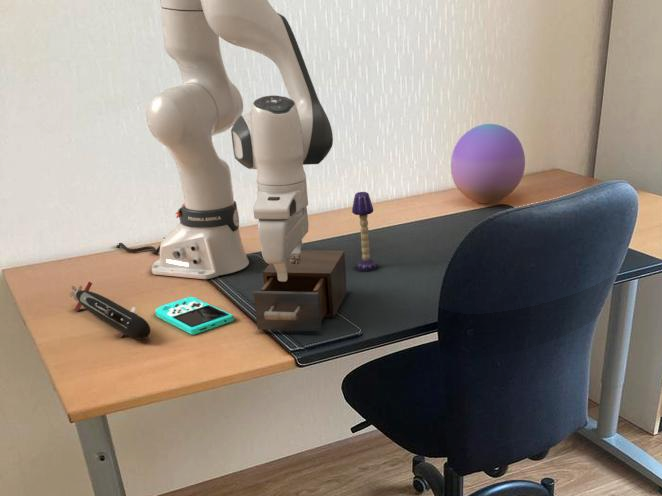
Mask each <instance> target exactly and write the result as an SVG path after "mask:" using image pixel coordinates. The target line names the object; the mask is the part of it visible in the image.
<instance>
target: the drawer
mask: <svg viewBox="0 0 662 496" xmlns="http://www.w3.org/2000/svg"><path fill="white" fill-rule="evenodd" d="M252 294H253V295H252V296H253V302H254V303H253V304H254V311H255V320H256V327H257V330H262V331H264V330H265V331H267V330H268V331H294V332H295V331H296V332H298V331H300V332H321V331H322V330H323V325H322V324H323V323H322V322H323V320H324V319H325V318H324V316H325V314H326V312H327V311H328V309H329V299H328V285H327V277H290V276H289V278H288V279H287V281H279V280H278V276H271V277H270V278H269V279H268V281H267V282H266V283H265V285H264V284H263V286H262V287H261V288H260V290H254V291H253V293H252Z"/></svg>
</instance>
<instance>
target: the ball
mask: <svg viewBox="0 0 662 496" xmlns="http://www.w3.org/2000/svg"><path fill="white" fill-rule="evenodd" d="M450 159H451V160H450V173H451V178H452V181H453V183H454V185H455V187H456V189H457V190H458V191H459V192H460V193H461V194H462V195H463V196H465V197H466V198H467V199H469V200H471V201H473V202H476V203H481V204H490V203H491V204H492V203H496V202H499V201H502V200H504V199H505V198H507V197H509V195H511V194H512V193H513V192H514V190H516V189H517V187H518V186H519V184H520V183H521V181H522V179H523V176H524V173H525V168H526V156H525V151H524V148H523V145H522V142H521V141H520V139H519V138H518V136H517V135H516V134H515V133H514V132H513V131H512V130H510V129H508V127H505V126H503V125H500V124H493V123H484V124H480V125H477V126H474V127H472V128H471V129H469V130H468V131H466V132H465V133H464V134H463V135H462V136H460V138H459V139H458V141H457V142H456V143H455V146H454V148H453V151H452V153H451V158H450Z"/></svg>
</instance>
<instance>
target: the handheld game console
mask: <svg viewBox="0 0 662 496" xmlns="http://www.w3.org/2000/svg"><path fill="white" fill-rule="evenodd" d="M154 311H155V316H156V317H157V318H158V319H160V320H162V321H164V322H166V323H168V324H170V325H172V326H174V327H176V328H178V329H180V330H182V331H184V332H185V333H187V334H190V335H191V336H194V335H197V334H201V333H203V332H206V331H209V330H211V329H215V328H218V327H221V326H223V325H226V324H229V323H232V322H234V321H235V318H234V315H233V314H232V313H230V312H227V311H225V310H223V309H220V308H219V307H216V306H215V305H212V304H209V303H207V302H205V301H204V300H201V299H199V298H197V297H194V296H187V297H184V298H181V299H177V300H175V301H172V302H169V303H166V304H162V305H161V306H159V307H157V308H156V309H155V310H154Z"/></svg>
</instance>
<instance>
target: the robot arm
mask: <svg viewBox="0 0 662 496" xmlns="http://www.w3.org/2000/svg"><path fill="white" fill-rule="evenodd" d="M160 14H161V26H162V37H163V46H164V49H165V52H166V53H167V55H168V56H169V57H170V58H171V59H172V60H174V61H175V62H176V65H177V66H178V69H179V72H180V75H181V79H182V80H181V81H182V85H178V86H174V87H169V88H167V89H164V90H163V91H162V92H160V93H159V94H157V95H156V96H154V97H153V98H152V99H150V101H149V103H148V104H147V106H146V113H145V118H146V124H147V127H148V129H149V131H150V133H151V135H152V136H153V137H154V139H155V140H157V142H159V143H161V144H162V145H163V146H164V147H165V148H166V149H167V151H168V152H169V153H170V155H171V157H172V159H173V161H174V164H175V166H176V168H177V172H178V175H179V180H180V185H181V191H182V197H183V203H182V205H181V207H179V208H178V210H177V211H176V212H175V215H176V219H178V218H179V223H178V224H177V225H176V226H175V227H174V228H173V229H172V230H171V231H170V232H169V233H168V234H167V235H166V236H165V237H163V238H162V241H161V243H160V244H159V246H158V247H155V246H150V245H149V246H148V245H147V246H141V247H137V248H135V247H134V248H130V247H127V246H126V245H125V244H124V243H123V242H118V244H119V245H118V244H116V246H115V248H116V249H120V248H122V249H123V250H125V251H126V252H129V253H138V252H142V251H148V250H149V251H152V254H153V255H157V254H159V258H158V259H157V260H156V261H155V262H153V264H152V266H151V273H152V274H153V275H156V276H168V277H176V278H177V277H178V278H187V279H195V280H196V279H197V280H199V279H200V280H209V279H213V278H217V277H219V276H224V275H228V274H233V273H236V272H239V271H241V270H244V269H245V268H247V267H248V266H249V265H250V261H249V258H248V256H247V254H246V250H245V248H244V245H243V241H242V237H241V233H240V229H239V228H240V216H239V209H238V205H237V202H236V200H235V196H234V188H233V181H232V173H231V169H230V166H229V164H228V163H227V161H225V160H224V159H222V158H220V156H219V155H218V153H217V151H216V149H215V146H214V143H213V136H216V135H219V134H221V133H225V132H227V131H229V130H230V129H231V130H230V134H231V142H232V150H233V156H234V159H235V160H236V161H237V162H238V163H239V164H241V165H242V166H244V167H245V168H247V169H248V170H256V171H257V173H256V189H257V191H256V198H255V202H254V205H253V209H252V210H253V211H252V212H253V217H254V219H255V220H258V221H257V231H258V238H259V245H260V250H261V256H262V258H263V260H264V262H265V263H266V264H270V263H271V264H274V267H275V269H276V271H277V276H278V280H279V281H287V279H288V278H289V271H288V270H287V266H286V263H287V260H286V259H287V258H288V256H289V255H290V254H291V255H290V259H291V263H292V264H299V263H300V262H301V250H302V248H303V239H304V237H306V235H307V234H308V233H309V227H310V225H309V224H310V223H309V216H308V215H309V214H308V208H307V207H308V206H309V198H308V197H309V196H308V184H307V175H306V172H305V169H304V166H306V165H307V166H308V165H320V163H321V162H322V161H324V160H325V158H326V157H327V156H328V154H329V153H330V152H331V149H332V148H333V146H334V145H333V144H334V133H333V128H332V126H331V122H330V119H329V117H328V115H327V113H326V111H325V109H324V107H323V106H322V104H321V101H320V99H319V97H318V95H317V92H316V89H315V86H314V83H313V81H312V79H311V78H312V77H311V76H310V72H309V70H308V68H307V65H306V62H305V60H304V56H303V55H302V51H301V49H300V47H299V44H298V41H297V39H296V36H295V34H294V32H293V29H292V27H291V25H290V24H289V21H288V19H287V18H286V17H285V16H284V15H283V14H280V13H279V12H278V11H276V10H275V9H274V7H273V6H272V5H271V3H270V1H269V0H160ZM220 38H221V39H222V40H223V41H225V42H227V43H229V44H231V45H234V46H235V47H240V48H244V49H247V50H250V51H253V52H256V53H259V54H260V55H263V56H265V57H266V58H268V59H269V60H271V61H272V62H273V63H274V64H275V65H276V67H277V68H278V70H279V72H280V75H281V78H282V81H283V83H284V86H285V88H286V91H287V94H288V96H287V97H286V96H282V95H265V96H261V97H259V98H257V99H255V100H254V101H252V103H251V104H252V105H251V107H250V108H251V110H250V111H249V112H247V113H245V114H243V112H244V102H243V101H244V100H243V97H242V94H241V92H240V89H238V87H237V86H236V85H235V84H234V83H233V82H232V80H230V77H229V75H228V73H227V70H226V67H225V63H224V60H223V56H222V52H221V45H220Z"/></svg>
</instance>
